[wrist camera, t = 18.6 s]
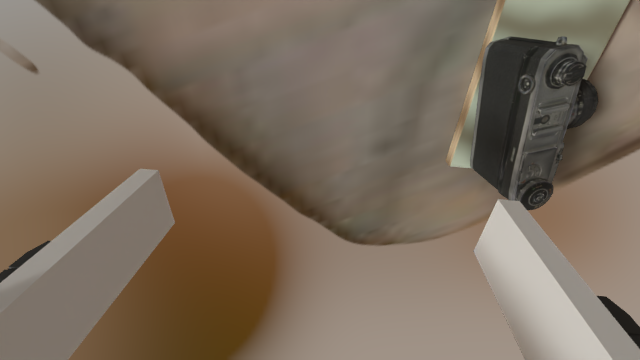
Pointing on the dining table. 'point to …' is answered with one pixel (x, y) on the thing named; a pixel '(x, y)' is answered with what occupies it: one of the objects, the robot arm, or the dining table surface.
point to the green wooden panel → (542, 24)
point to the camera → (528, 114)
